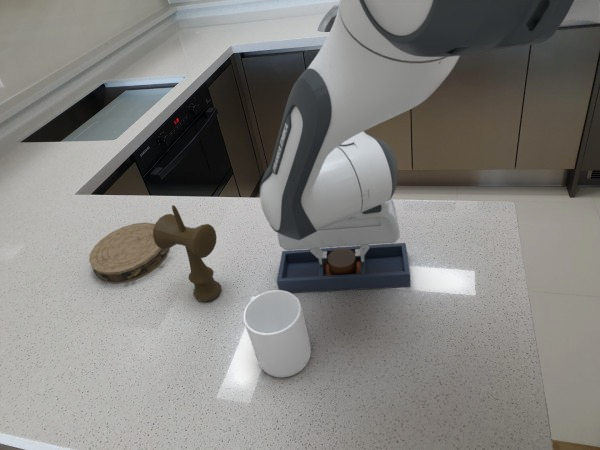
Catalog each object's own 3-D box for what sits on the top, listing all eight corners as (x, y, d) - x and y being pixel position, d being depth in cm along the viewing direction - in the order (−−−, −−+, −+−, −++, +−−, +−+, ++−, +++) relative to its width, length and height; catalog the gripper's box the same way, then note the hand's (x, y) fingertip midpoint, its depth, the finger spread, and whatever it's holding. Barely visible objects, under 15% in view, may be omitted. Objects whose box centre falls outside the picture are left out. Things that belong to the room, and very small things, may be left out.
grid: (410, 286, 78) (410, 274, 76) (279, 293, 82) (276, 281, 80) (405, 255, 84) (405, 242, 82) (285, 262, 88) (282, 250, 86)
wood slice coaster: (113, 295, 89) (107, 284, 87) (84, 261, 99) (77, 251, 97) (183, 251, 96) (178, 240, 94) (148, 224, 107) (144, 214, 105)
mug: (238, 339, 75) (221, 295, 69) (280, 313, 78) (268, 269, 72) (276, 390, 66) (261, 345, 60) (322, 358, 69) (312, 312, 63)
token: (357, 277, 80) (356, 266, 78) (328, 278, 81) (326, 268, 79) (357, 257, 84) (355, 247, 82) (329, 259, 84) (328, 249, 83)
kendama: (198, 276, 89) (163, 190, 77) (238, 288, 85) (207, 199, 73) (178, 297, 85) (138, 211, 73) (219, 311, 81) (183, 221, 69)
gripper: (266, 213, 72) (282, 277, 80) (398, 202, 69) (401, 270, 77) (271, 191, 77) (286, 253, 85) (395, 179, 74) (398, 245, 82)
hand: (342, 261), depth 81 cm, fingers closed on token, 5 cm apart
